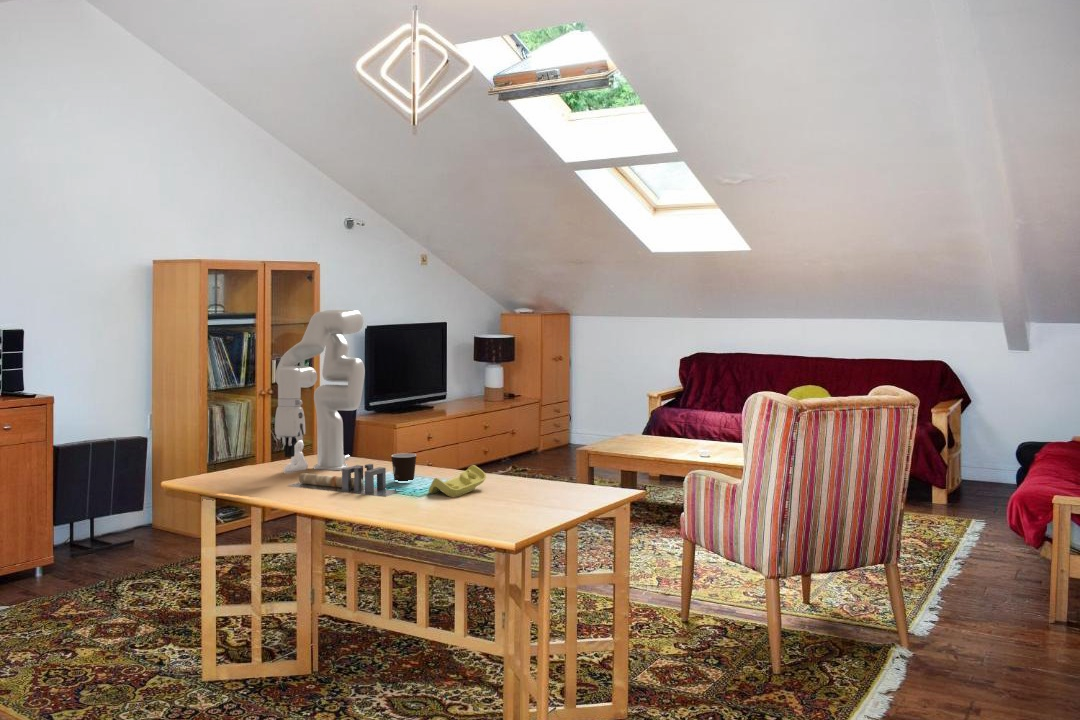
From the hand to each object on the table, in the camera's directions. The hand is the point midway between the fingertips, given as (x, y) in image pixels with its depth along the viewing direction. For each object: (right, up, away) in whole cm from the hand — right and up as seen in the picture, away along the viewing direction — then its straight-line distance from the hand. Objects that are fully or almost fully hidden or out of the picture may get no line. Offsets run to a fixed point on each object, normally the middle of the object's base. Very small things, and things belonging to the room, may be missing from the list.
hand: (289, 456), depth 330 cm
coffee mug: (+39, -10, +4) cm, 40 cm away
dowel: (+16, -9, -6) cm, 19 cm away
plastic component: (+59, -11, -10) cm, 61 cm away
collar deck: (+21, -10, -8) cm, 25 cm away
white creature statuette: (-4, -8, +27) cm, 28 cm away
